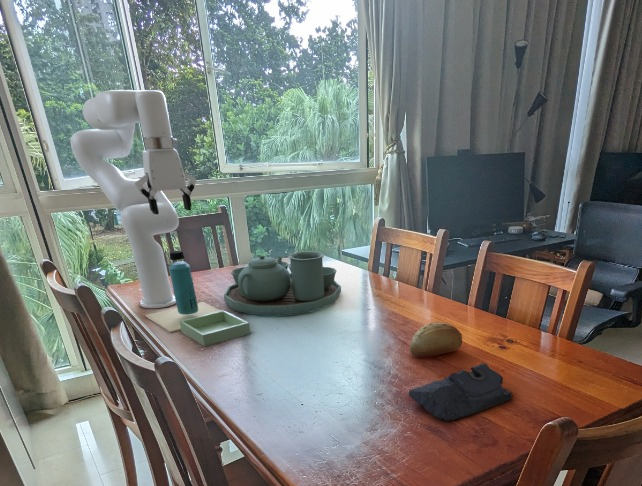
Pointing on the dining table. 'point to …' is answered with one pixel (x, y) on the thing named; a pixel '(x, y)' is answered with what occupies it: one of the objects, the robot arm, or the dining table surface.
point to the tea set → (283, 285)
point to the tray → (214, 327)
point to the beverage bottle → (182, 284)
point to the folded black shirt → (462, 393)
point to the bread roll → (435, 340)
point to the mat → (178, 316)
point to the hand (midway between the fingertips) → (172, 211)
